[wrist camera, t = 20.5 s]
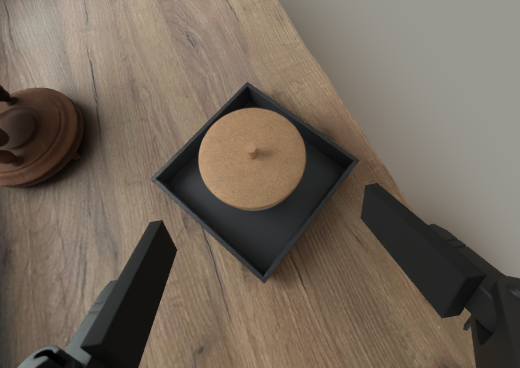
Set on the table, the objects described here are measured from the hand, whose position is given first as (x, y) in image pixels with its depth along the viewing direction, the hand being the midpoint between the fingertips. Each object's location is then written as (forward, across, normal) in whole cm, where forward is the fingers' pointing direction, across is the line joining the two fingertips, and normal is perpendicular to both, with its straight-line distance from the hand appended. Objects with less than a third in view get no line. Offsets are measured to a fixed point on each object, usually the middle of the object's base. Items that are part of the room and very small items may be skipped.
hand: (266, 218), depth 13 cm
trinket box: (+14, 0, -4) cm, 15 cm away
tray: (+14, 0, -4) cm, 15 cm away
